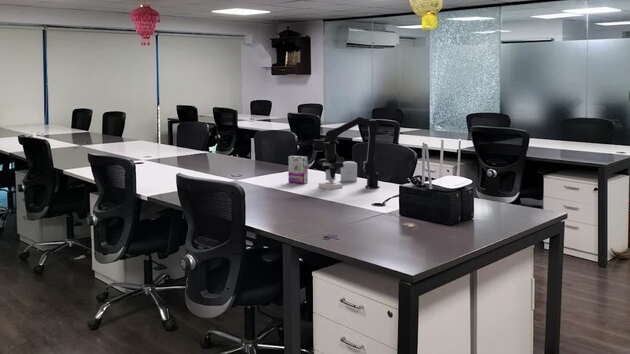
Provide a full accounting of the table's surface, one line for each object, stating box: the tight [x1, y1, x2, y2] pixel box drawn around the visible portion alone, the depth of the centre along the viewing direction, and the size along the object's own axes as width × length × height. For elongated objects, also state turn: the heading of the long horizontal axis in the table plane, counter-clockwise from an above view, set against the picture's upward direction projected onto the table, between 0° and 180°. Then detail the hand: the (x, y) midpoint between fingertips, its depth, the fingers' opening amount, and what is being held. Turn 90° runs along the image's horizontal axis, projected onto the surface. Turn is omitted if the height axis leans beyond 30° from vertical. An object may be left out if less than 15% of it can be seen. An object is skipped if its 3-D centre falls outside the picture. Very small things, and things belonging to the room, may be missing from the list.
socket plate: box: [318, 180, 343, 191], centre depth 344 cm, size 10×10×3 cm
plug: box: [325, 166, 336, 182], centre depth 343 cm, size 4×4×8 cm
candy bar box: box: [287, 155, 309, 185], centre depth 356 cm, size 11×5×16 cm, turn 62°
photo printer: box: [340, 160, 358, 182], centre depth 363 cm, size 10×4×12 cm, turn 98°
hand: (330, 177), depth 343 cm, fingers closed on plug, 4 cm apart
